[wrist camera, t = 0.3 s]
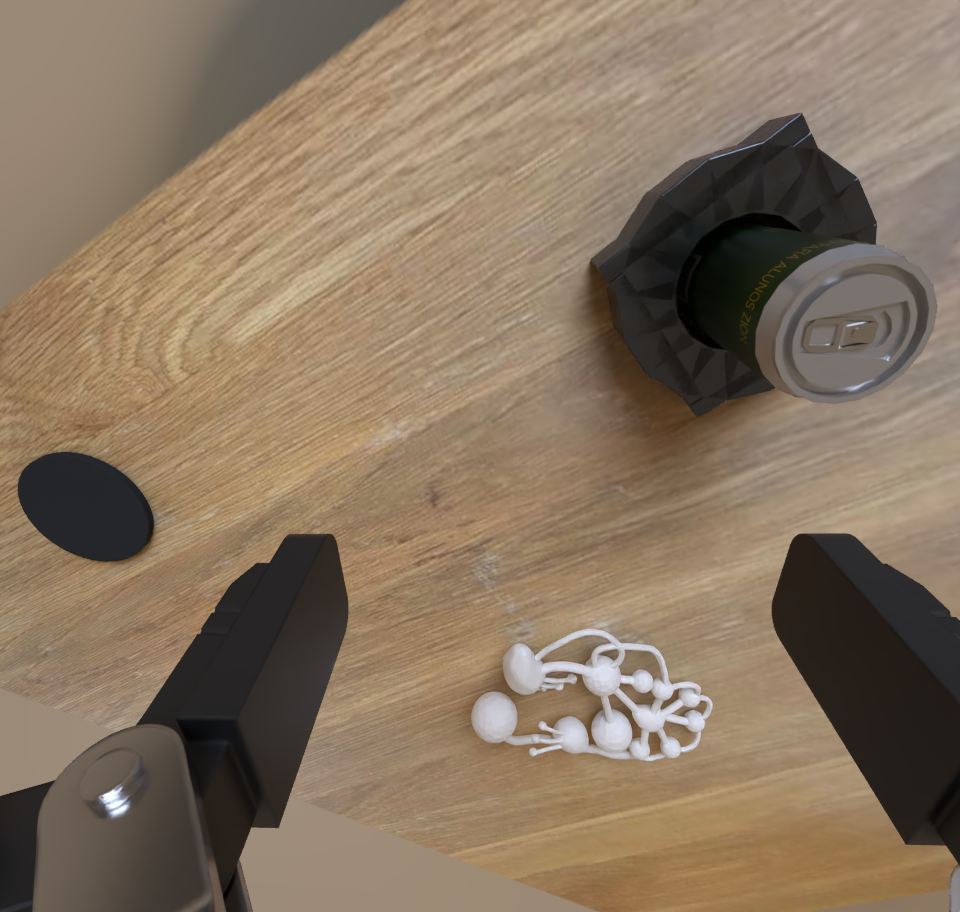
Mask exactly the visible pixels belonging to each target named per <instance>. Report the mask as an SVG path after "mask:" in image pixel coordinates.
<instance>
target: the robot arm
mask: <svg viewBox="0 0 960 912" xmlns="http://www.w3.org/2000/svg"><path fill="white" fill-rule="evenodd" d="M772 619H773V624H774V628H775V631H776V633H777V636H778V637H779V639H780V641H781V643H782V644H783V646H784V647H785V649H786V651H787V652H788V654H789V656H790V657H791V659H792V660H793V662H794V664H795V665H796V667H797V669H798V670H799V672H800V673H801V675H802V677H803V678H804V680H805V681H806V683H807V685H808V686H809V688H810V690H811V691H812V693H813V694H814V696H815V698H816V699H817V701H818V703H819V704H820V706H821V707H822V709H823V711H824V712H825V714H826V716H827V717H828V719H829V720H830V722H831V724H832V725H833V727H834V729H835V730H836V732H837V733H838V735H839V737H840V738H841V740H842V742H843V743H844V745H845V746H846V748H847V750H848V751H849V753H850V755H851V756H852V758H853V759H854V761H855V763H856V764H857V766H858V768H859V769H860V771H861V772H862V774H863V776H864V777H865V779H866V780H867V782H868V784H869V785H870V787H871V789H872V790H873V792H874V793H875V795H876V797H877V798H878V800H879V802H880V803H881V805H882V806H883V808H884V810H885V811H886V813H887V815H888V816H889V818H890V819H891V821H892V823H893V824H894V826H895V828H896V829H897V831H898V832H899V834H900V836H901V837H902V839H903V841H904V842H905V844H906V845H946V846H947V847H948V849H949V850H950V852H951V853H952V855H953V856H954V858H955V859H956V861H957V862H958V864H957V865H956V866H955V867H954V869H953V871H952V873H951V876H950V895H949V897H950V898H949V912H960V620H958V619H957V618H956V617H951V615H950V611H949V610H948V609H947V608H946V607H945V606H944V605H943V604H942V603H941V602H939V601H938V600H937V599H936V598H935V597H934V596H933V595H932V594H931V593H930V592H929V591H928V590H927V589H926V588H925V587H924V586H922V585H921V584H919V583H918V582H916V581H914V580H913V579H911V578H909V577H908V576H906V575H904V574H903V573H901V572H899V571H898V570H896V569H894V568H893V567H891V566H889V565H888V564H882V563H881V562H880V561H879V560H878V559H877V558H876V557H875V556H874V555H873V554H872V553H871V552H870V551H869V550H868V549H867V548H866V547H865V546H864V545H863V544H862V543H861V542H860V541H859V540H858V539H857V538H856V537H854V536H853V535H850V534H798V535H797V536H795V537H794V539H793V540H792V542H791V544H790V547H789V550H788V553H787V557H786V560H785V563H784V566H783V569H782V572H781V575H780V579H779V582H778V585H777V588H776V591H775V594H774V597H773V601H772ZM347 621H348V597H347V592H346V587H345V582H344V577H343V572H342V567H341V562H340V557H339V552H338V547H337V542H336V539H335V537H334V536H333V535H332V534H289V535H287V536H286V537H285V539H284V540H283V542H282V543H281V545H280V547H279V548H278V550H277V551H276V553H275V555H274V556H273V558H272V560H271V561H270V563H256V564H255V565H254V566H253V567H251V568H250V569H249V570H248V571H246V572H245V573H244V574H243V575H241V576H240V577H239V578H238V579H236V580H235V581H234V582H233V583H232V584H231V585H230V586H229V588H228V589H227V591H226V592H225V594H224V595H223V597H222V598H221V600H220V601H219V603H218V604H217V606H216V607H215V613H211V615H210V616H209V618H208V619H207V621H206V622H205V624H204V625H203V627H202V628H201V634H197V636H196V637H195V639H194V640H193V642H192V643H191V645H190V646H189V648H188V649H187V651H186V652H185V654H184V655H183V657H182V658H181V660H180V661H179V663H178V664H177V666H176V667H175V669H174V670H173V672H172V673H171V675H170V676H169V678H168V679H167V681H166V682H165V684H164V685H163V687H162V688H161V690H160V691H159V693H158V694H157V695H156V697H155V698H154V700H153V701H152V703H151V704H150V706H149V707H148V709H147V710H146V712H145V713H144V715H143V716H142V718H141V719H140V721H139V722H138V723H137V725H136V726H133V727H129V728H126V729H123V730H120V731H118V732H116V733H113V734H111V735H109V736H107V737H105V738H104V739H102V740H100V741H98V742H97V743H95V744H94V745H92V746H91V747H89V748H88V749H87V750H86V751H84V752H83V753H82V754H81V755H79V756H78V757H77V758H76V759H75V760H73V761H72V763H70V764H69V765H68V766H67V767H66V768H65V769H64V771H63V772H62V773H61V774H60V775H59V776H58V778H57V779H56V780H54V781H51V782H48V783H44V784H41V785H38V786H34V787H31V788H27V789H24V790H20V791H16V792H13V793H9V794H6V795H2V796H0V912H253V910H252V906H251V902H250V898H249V894H248V890H247V886H246V882H245V878H244V874H243V870H242V866H241V863H240V860H239V858H240V855H241V853H242V850H243V848H244V845H245V842H246V840H247V837H248V834H249V832H250V829H251V827H257V828H278V827H279V825H280V822H281V819H282V816H283V813H284V811H285V808H286V805H287V802H288V799H289V796H290V793H291V790H292V787H293V784H294V781H295V778H296V776H297V773H298V770H299V767H300V764H301V761H302V758H303V755H304V752H305V749H306V746H307V743H308V740H309V738H310V735H311V732H312V729H313V726H314V723H315V720H316V717H317V714H318V711H319V708H320V705H321V703H322V700H323V697H324V694H325V691H326V688H327V685H328V682H329V679H330V676H331V673H332V670H333V667H334V665H335V662H336V659H337V656H338V653H339V650H340V647H341V644H342V641H343V638H344V635H345V632H346V628H347Z"/></svg>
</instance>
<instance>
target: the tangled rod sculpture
mask: <svg viewBox="0 0 960 912" xmlns="http://www.w3.org/2000/svg"><path fill="white" fill-rule="evenodd" d="M589 635H596V636H600V637H603V638H605V639H607V640H608V641H610V642H611V643H609V644H604V645H600V646H599V647H597V648H595V649H594V651H593V652H592V655H591V658H590V659H589V660H587V662H586V663H585V665H583V664H579V663H574V662H567V661H554V662H548V663H544V664H543V662H542V661H541V660H540V659H541V658H543V657H544V656H545V655H546V654H548V653H549V652H551V651H553V650H554V649H556V648H558V647H560V646H562V645H564V644H566V643H568V642H570V641H572V640H574V639H576V638H579V637H582V636H589ZM614 649H618V652H619V656H618V658H617V659H616V660H615V661H613V660H612V659H611V658H609V657H607V656H602V655H599V654H600V653H601V652H603V651H608V650H614ZM624 649H626V650H639V651H650V652H651V653H653V654H654V655H655V657H656V658H657V660H658V662H659V665H660V669H661V673H662V677H658V678H655V679H654V680H653V678H652V676H651V675H650V673H649V672H647V671H645V670H637V671H635V672H634V673H633V674H632V676H625V675H621V672H620V669H619V667H618V666H619V665H620V664H621V663H622V661H623V659H624V657H625V651H624ZM503 670H504V676H505V679H506V682H507V684H508V685H509V687H510V688H511V689H512V690H514V691H515V692H516V693H519V694H522V695H530V694H533V693H535V692H536V691H539V690H540V691H542V692H545V691H546V690H547V689H554V688H555V689H556V690H558V691H560V690H562V689H563V687H564V685H563V683H570V684H575V683H576V681H577V677H576V675H575V674H569V675H568V676H567V678H560V679H556V678H549V677H545V676H546V674H547V673H549V672H555V671H567V672H573V673H578V674H582V677H583V681H584V684H585V686H586V687H587V689H588V690H589V691H591V692H592V693H593V694H595V695H598V696H600V698H601V701H602V705H603V710H601V711H599V712H598V713H597V714H596V715H595V717H594V718H593V721H592V725H591V733H592V737H593V739H594V741H595V743H596V744H588V742H589V739H588V734H587V731H586V728H585V726H584V725H583V724H582V722H581V721H580V720H578V719H577V718H575V717H572V716H568V717H564V718H561V719H560V720H558V721H557V722H556V724H555V725H554V727H553V729H552V728H550V727H548V726H547V725H546V723H545V722H544V721H541V722H540V723H539V725H538V726H539V729H540V730H546V731H549V732H551V733H552V736H550V735H545V734H530V735H523V736H513V735H512V733H513V732H514V730H515V728H516V725H517V710H516V707H515V705H514V703H513V702H512V700H511V699H510V698H509V697H508V696H507V695H505V694H503V693H501V692H496V691H493V692H488V693H485V694H483V695H482V696H480V697H479V698H478V699H477V701H476V702H475V704H474V706H473V709H472V714H471V721H472V725H473V728H474V730H475V732H476V733H477V735H478V736H479V737H480V738H481V739H483V740H484V741H486V742H489V743H500V742H502V741H505V742H506V743H508V744H511V745H526V744H537V743H543V744H548V745H553V746H549V747H546V748H542V749H539V750H536V749H535V748H533V747H532V748H531V749H530V750H529V754H530V756H532V757H535V756H536V755H537V754H540V753H544V752H547V751H551V750H555V749H562V750H564V751H566V752H569V753H573V754H576V753H584V752H586V753H597V754H600V755H603V756H606V757H608V758H612V759H622V760H623V759H637V760H643V761H655V760H658V759H661V758H664V757H667V758H670V759H674V758H677V757H678V756H679V755H680V753H684V752H688V751H691V750H693V749H694V748H695V747H696V746H697V745H698V744H699V741H700V739H701V731H702V730H703V729H704V727H705V720H706V719H707V718H708V717H709V715H710V713H711V711H712V707H713V704H712V701H711V700H710V699H709V698H708V697H707V696H704V695H700V693H701V688H700V686H699V685H698V684H695V683H693V682H679V683H675V684H671V683H670V682H669V680H668V672H667V668H666V664H665V661H664V659H663V657H662V655H661V653H660V652H659V651H658V650H657V649H656V648H655V647H653V646H650V645H643V644H633V643H620V642H619V641H618V640H617V639H616V638H615V637H613V636H612V635H611V634H609V633H607V632H605V631H602V630H599V629H583V630H580V631H576V632H573V633H571V634H569V635H567V636H565V637H563V638H562V639H560V640H558V641H556V642H554V643H552V644H550V645H548V646H546V647H545V648H544V649H542V650H541V651H540V652H539V653H537V654H536V655H535V654H534V653H533V652H532V651H531V650H530V649H529V648H528V646H527V645H525V644H522V643H517V644H514V645H512V646H511V647H510V648H509V650H508V651H507V652H506V653H505V655H504V657H503ZM546 682H547V683H552V684H547V683H546ZM620 683H623V684H632V686H633V688H634V689H635V690H636V691H638V692H640V693H647V692H649V691H650V690H651V692H652V694H653V695H654V696H655V698H656V699H655V701H654V703H653V705H652V704H635V703H634V702H632V701H631V700H630V699H629V698H628V697H627V696H626V695H625V694H624V693H623V692H622V691H621V690H620V689H619V686H620ZM679 688H680V689H679ZM676 689H679V692H678V695H679V699H678V700H676V701H675V702H673V703H672V704H670V705H669V706H667V707H666V708H664V709H663V710H662V709H661V708H660V707H661V705H662V703H663V701H665V700H668V699H670V698H671V696H672V694H673V690H676ZM613 693H614V694H615V695H616V696H617V697H618V698H619V699H620V700H621V701H622V702H623V703H624V704H625V705H626V706H627V707H628V708H629V709H630V710H631V711H632V716H633V718H634V720H635V721H636V723H637V725H638V726H639V727H640V728H642V732H641V738H639V737H636V738H634V739H632V728H631V725H630V722H629V720H628V719H627V718H626V716H625V715H624V714H623V713H621V712H620V711H618V710H615V709H611V706H610V703H609V699H608V696H610V695H611V694H613ZM700 700H702V701H706V703H707V708H706V710H705V712H704V713H703V714H701V713H700V712H698V711H695V710H690V711H687V712H686V713H685V715H684V717H682V716H678V715H674V714H672V713H673V712H675V711H676V710H678V709H679V708H680V707H682V706H683V705H685V706H687V707H696V706H697V705H698V704H699V702H700ZM665 721H668V722H672V723H677V724H681V725H685V726H686V727H687V728H688V729H689V730H690V731H692V732H696V734H695V740H694V741H693V742H692V743H691V744H690V745H688V746H685V747H680V744H679V742H678V741H677V740H676V739H675V738H673V737H671V736H666V734H665V732H664V730H663V728H662V727H663V726H664V723H665ZM649 732H657V734H658V736H659V737H660V739H661V742H660V749H661V753H659V754H655V755H652V756H649V754H650V748H649V745H648V737H649ZM628 747H629V750H626V749H627V748H628Z"/></svg>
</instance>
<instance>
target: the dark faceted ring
mask: <svg viewBox="0 0 960 912" xmlns="http://www.w3.org/2000/svg"><path fill="white" fill-rule="evenodd" d="M809 132H810V130H809V127H808V125H807V123H806V121H805V118H804V116H803V114H802V113H798V114H793V115H789V116H785V117H781V118H777V119H772V120H769V121H768V122H766V123H765V124H764V125H763V126H761V127H760V128H759V129H757V130H756V131H755V132H754V133H752V134H751V135H750V136H748V137H747V138H746V139H745V140H743V141H742V142H741V143H739V144H738V145H737V146H733V147H730V148H727V149H724V150H721V151H717V152H714V153H711V154H708V155H705V156H702V157H698V158H695V159H692V160H689V161H688V162H685V163H684V164H683V165H682V166H680V167H679V168H678V169H677V170H675V171H674V172H673V173H672V174H670V175H669V176H668V177H667V178H665V179H664V180H663V181H661V182H660V183H659V184H658V185H656V186H655V187H654V188H653V189H651V190H650V191H649V192H648V193H646V195H644V197H643V198H642V200H641V201H640V203H639V204H638V206H637V208H636V209H635V211H634V212H633V214H632V216H631V217H630V219H629V220H628V222H627V223H626V225H625V227H624V228H623V230H622V231H621V233H620V235H619V236H618V238H617V239H616V240H615V241H613V242H612V243H611V244H610V245H608V246H607V247H606V248H604V249H603V250H602V251H601V252H599V253H598V254H597V255H595V256H594V257H593V258H592V259H591V262H592V264H593V265H594V267H595V268H596V270H597V271H598V273H599V274H600V276H601V278H602V279H603V281H604V282H605V284H606V285H607V290H608V296H609V302H610V307H611V313H612V319H613V325H614V328H615V329H616V331H617V332H618V334H619V335H620V337H621V338H622V340H623V341H624V342H625V344H626V345H627V347H628V348H629V350H630V351H631V353H632V354H633V356H634V357H635V359H636V360H637V361H638V363H639V364H640V365H641V367H642V368H643V370H644V371H645V372H646V374H647V375H648V376H650V377H652V378H654V379H655V380H657V381H659V382H660V383H662V384H664V385H666V386H667V387H669V388H671V389H672V390H674V391H676V392H678V394H679V395H680V397H681V398H682V399H683V401H684V402H685V403H686V404H687V406H688V407H689V408H690V409H691V410H692V412H693V413H694V414H695V415H696V417H700V416H701V415H703V414H705V413H706V412H708V411H710V410H711V409H713V408H715V407H716V406H718V405H720V404H721V403H723V402H724V401H726V400H731V399H735V398H740V397H744V396H748V395H753V394H757V393H761V392H765V391H770V390H771V389H774V388H775V387H774V386H772V385H771V384H770V383H769V382H767V381H766V380H765V379H763V378H762V377H761V376H759V375H758V374H757V373H756V372H754V371H753V370H752V369H750V368H749V367H748V366H746V365H745V364H744V363H743V362H741V361H740V360H739V359H737V358H736V357H735V356H733V355H732V354H731V353H730V352H728V351H727V350H726V349H724V348H723V347H722V346H720V345H719V344H718V343H717V342H715V341H714V340H713V339H711V338H710V337H709V336H708V335H706V334H704V333H695V332H691V331H689V330H688V329H687V328H686V327H685V325H684V323H683V322H682V320H681V319H680V317H679V315H678V307H677V299H676V287H677V284H678V280H679V277H680V273H681V269H682V266H683V264H684V262H685V261H686V260H687V258H688V257H689V255H690V254H691V252H692V251H693V250H694V248H695V247H696V245H697V244H698V243H699V241H700V240H701V239H702V238H703V237H705V236H706V235H707V234H709V233H710V232H712V231H713V230H714V229H716V228H717V227H718V226H720V225H721V224H722V223H724V222H726V221H729V220H733V219H736V218H740V217H743V216H746V215H750V214H755V215H756V216H757V217H759V218H760V219H762V220H763V221H765V222H766V223H768V224H769V225H770V226H772V227H776V228H781V229H787V230H793V231H799V232H805V233H811V234H817V235H823V236H829V237H834V238H840V239H846V240H852V241H858V242H864V243H870V244H876V229H877V224H876V223H877V222H876V220H875V217H874V215H873V213H872V210H871V208H870V205H869V203H868V201H867V198H866V196H865V194H864V191H863V189H862V186H861V184H860V182H859V179H858V178H857V177H856V176H855V175H854V174H852V173H851V172H850V171H848V170H847V169H846V168H844V167H843V166H841V165H840V164H839V163H837V162H836V161H835V160H833V159H832V158H831V157H829V156H828V155H827V154H825V153H824V152H823V151H821V150H820V149H818V147H817V145H816V143H815V140H814V138H813V136H812V134H811V133H809Z"/></svg>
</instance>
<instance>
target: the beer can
mask: <svg viewBox="0 0 960 912" xmlns="http://www.w3.org/2000/svg"><path fill="white" fill-rule="evenodd" d="M676 299H677V306H678V309H679V311H680V312H681V313H682V314H683V315H684V316H685V317H686V318H687V320H688V321H689V322H691V323H692V324H693V325H695V326H696V327H697V328H698V329H700V330H701V331H702V332H704V333H705V334H706V335H708V336H709V337H710V338H711V339H713V340H714V341H715V342H717V343H718V344H719V345H720V346H722V347H723V348H724V349H726V350H727V351H728V352H730V353H731V354H732V355H733V356H735V357H736V358H737V359H739V360H740V361H741V362H743V363H744V364H745V365H746V366H748V367H749V368H750V369H752V370H753V371H754V372H756V373H757V374H758V375H759V376H761V377H762V378H763V379H765V380H766V381H767V382H769V383H770V384H771V385H772V386H774V387H775V388H776V389H778V390H781V391H783V392H785V393H787V394H789V395H792V396H794V397H798V398H806V399H808V400H810V401H812V402H819V403H829V404H838V403H843V402H849V401H854V400H859V399H862V398H864V397H866V396H868V395H871V394H873V393H875V392H877V391H880V390H882V389H883V388H885V387H886V386H888V385H889V384H890V383H892V382H893V381H894V380H896V379H897V378H898V377H900V376H901V375H902V374H904V373H905V372H906V371H907V369H908V368H909V367H910V366H911V365H912V364H913V362H914V361H915V360H916V359H917V358H918V357H919V356H920V354H921V353H922V351H923V349H924V348H925V346H926V344H927V342H928V340H929V338H930V336H931V334H932V332H933V329H934V323H935V318H936V312H937V302H936V297H935V292H934V287H933V284H932V283H931V281H930V280H929V279H928V277H927V276H926V275H925V273H924V272H923V271H922V269H921V268H920V267H918V266H916V265H914V264H912V263H910V262H908V261H907V259H906V258H905V257H904V256H902V255H900V254H898V253H896V252H894V251H892V250H891V249H889V248H887V247H885V246H882V245H876V244H870V243H864V242H858V241H852V240H846V239H840V238H834V237H829V236H823V235H817V234H811V233H805V232H799V231H793V230H787V229H781V228H776V227H770V226H764V225H758V224H752V223H742V222H730V223H726V224H722V225H720V226H718V227H717V228H716V229H714V230H713V231H712V232H710V233H709V234H707V235H706V236H705V237H703V238H702V239H701V240H700V241H699V243H698V244H697V245H696V247H695V248H694V250H693V251H692V252H691V254H690V255H689V257H688V258H687V260H686V261H685V262H684V264H683V266H682V269H681V273H680V277H679V280H678V284H677V287H676Z"/></svg>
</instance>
